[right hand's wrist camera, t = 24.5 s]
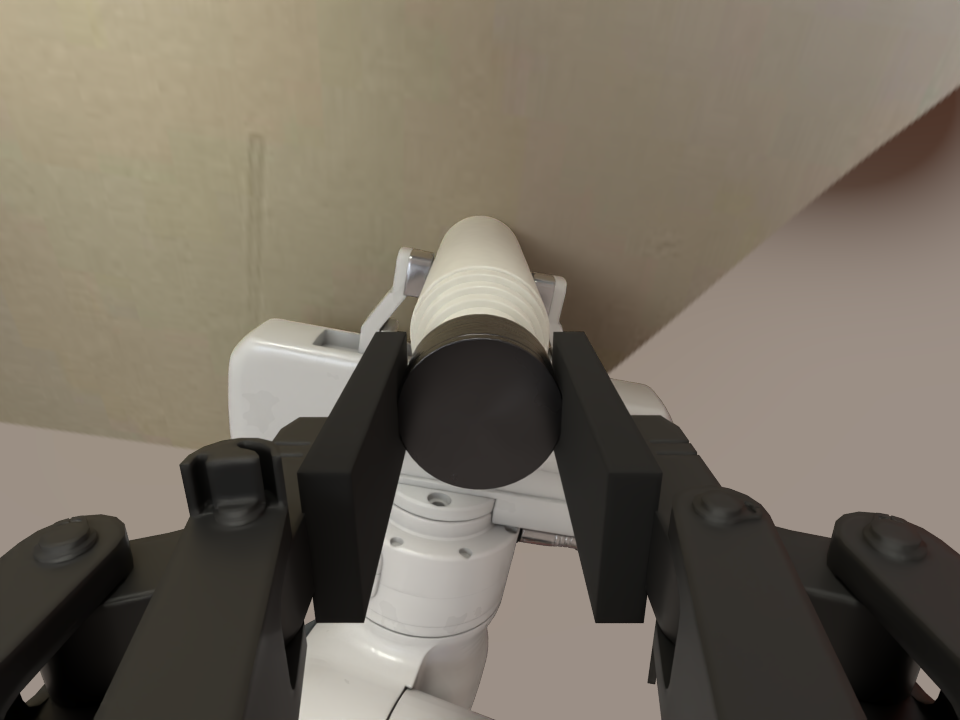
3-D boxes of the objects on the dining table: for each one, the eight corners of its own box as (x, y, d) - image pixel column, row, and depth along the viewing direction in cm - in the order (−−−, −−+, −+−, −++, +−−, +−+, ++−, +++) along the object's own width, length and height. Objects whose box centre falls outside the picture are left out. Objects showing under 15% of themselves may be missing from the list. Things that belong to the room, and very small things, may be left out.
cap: (472, 474, 15) (471, 517, 14) (375, 377, 14) (360, 410, 13) (583, 391, 14) (598, 426, 13) (488, 282, 14) (489, 302, 12)
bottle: (496, 311, 32) (516, 513, 14) (424, 274, 31) (353, 439, 14) (536, 240, 31) (612, 367, 13) (462, 199, 30) (436, 276, 12)
